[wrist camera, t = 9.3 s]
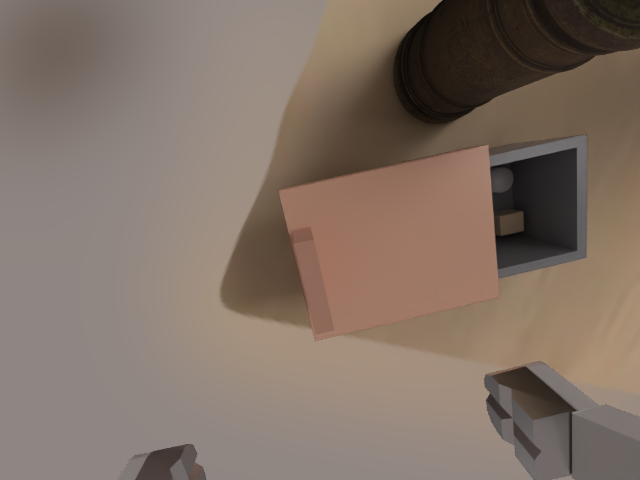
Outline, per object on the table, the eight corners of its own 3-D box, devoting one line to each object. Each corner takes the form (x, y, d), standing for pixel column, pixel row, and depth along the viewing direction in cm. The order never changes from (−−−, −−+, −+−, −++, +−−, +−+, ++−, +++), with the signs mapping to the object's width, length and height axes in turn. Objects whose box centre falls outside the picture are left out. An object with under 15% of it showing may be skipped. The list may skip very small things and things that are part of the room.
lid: (468, 147, 23) (532, 138, 17) (480, 285, 26) (539, 321, 20) (280, 189, 23) (274, 196, 16) (313, 324, 26) (319, 375, 19)
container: (450, 140, 30) (673, 95, 12) (374, 93, 28) (502, -35, 11) (501, 52, 28) (836, -141, 11) (423, -2, 27) (667, -334, 9)
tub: (511, 143, 30) (586, 134, 22) (517, 237, 33) (586, 257, 25) (378, 173, 30) (408, 174, 22) (393, 265, 32) (425, 295, 24)
